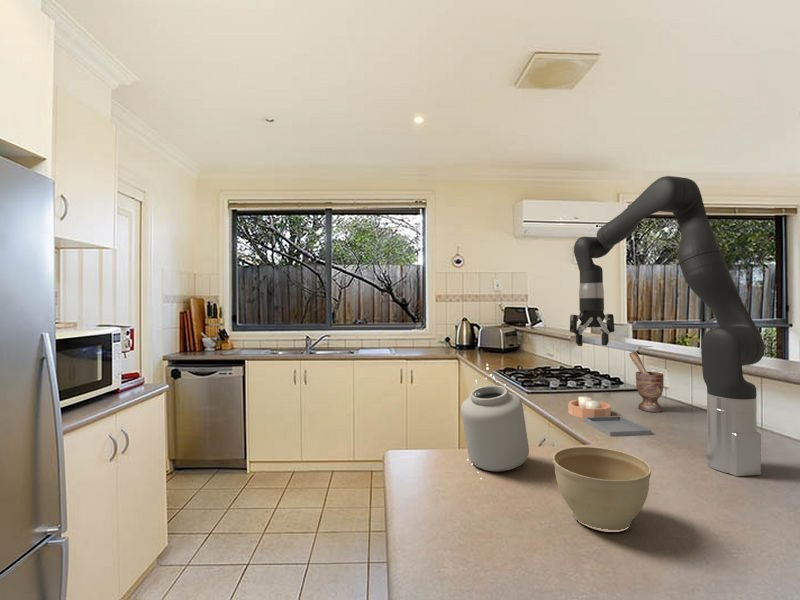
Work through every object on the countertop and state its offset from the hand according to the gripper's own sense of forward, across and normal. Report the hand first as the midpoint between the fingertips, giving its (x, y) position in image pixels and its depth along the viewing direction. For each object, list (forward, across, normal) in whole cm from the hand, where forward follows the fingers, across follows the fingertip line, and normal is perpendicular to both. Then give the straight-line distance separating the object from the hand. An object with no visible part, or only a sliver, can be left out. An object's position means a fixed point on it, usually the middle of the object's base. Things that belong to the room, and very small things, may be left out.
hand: (592, 345), depth 144 cm
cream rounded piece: (+23, 0, 0) cm, 23 cm away
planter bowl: (+25, -33, -62) cm, 75 cm away
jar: (+25, -45, -35) cm, 62 cm away
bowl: (+24, 0, +3) cm, 24 cm away
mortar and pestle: (+24, +24, +9) cm, 35 cm away
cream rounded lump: (+23, 0, +5) cm, 24 cm away
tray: (+24, 0, -13) cm, 27 cm away
